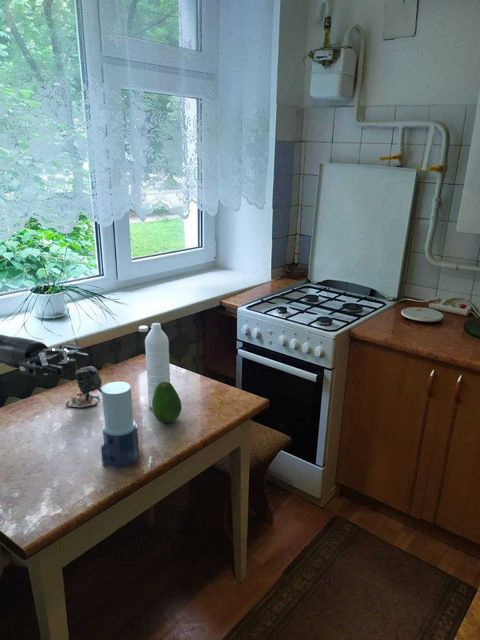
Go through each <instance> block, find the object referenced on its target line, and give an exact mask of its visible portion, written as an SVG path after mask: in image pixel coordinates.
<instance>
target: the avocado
mask: <svg viewBox="0 0 480 640" xmlns="http://www.w3.org/2000/svg"><path fill="white" fill-rule="evenodd" d="M151 409H152V412H153V414H154V417H155V418H156V420H157V421H158V422H160V423H162V424H163V423H164V424H168V423H173V422H174V421H176V420H177V419H178V418H179V417H180V415H181V411H182V401H181V398H180V395H179V394H178V392H177V390H176V389H175V388H174V386H173V384H172V383H171V382H170V383H169V382H161V383H159V384H158V385H157V387H156V389H155V392H154V396H153V400H152V407H151Z"/></svg>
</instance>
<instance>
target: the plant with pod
mask: <svg viewBox="0 0 480 640" xmlns="http://www.w3.org/2000/svg"><path fill="white" fill-rule="evenodd" d="M65 345H70V346H76V347H79V345H78V343H76V342H74V341H71V340H67V342H66V343H65ZM77 365H78V364H77V361H74V366H75V371H74V376H75V378H76V382H77V386H78V388H79V391H77V392H76V395H75V396H71V397H69V398H68V401H67V402H66V404H65V406H68V407H74V408H75V407H76V408H79V409H80V408H81V409H82V408H85V407H89V406H95V405H98V403H99V402H100V396H99V395H92V394H90V393H92V392H95V391H96V390H98V391H99V392H100V393H101V394H102V390H101V389H102V378H101V376H100V373H99V371H98V369H97V368H96V367H95V366H92V365H89V366H83V367H81V368H78V366H77Z"/></svg>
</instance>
